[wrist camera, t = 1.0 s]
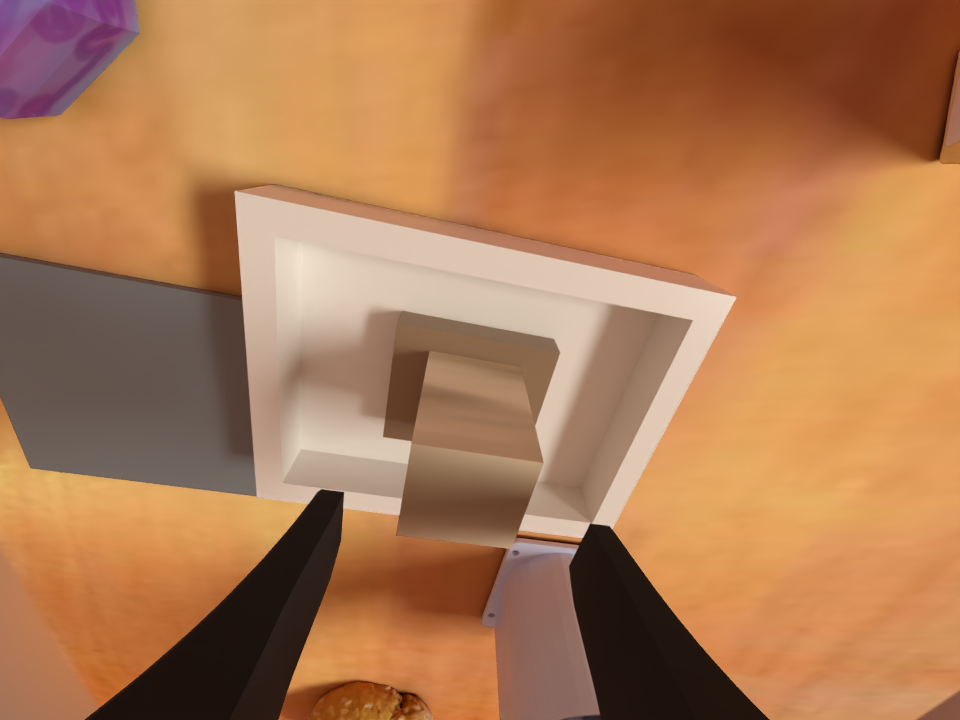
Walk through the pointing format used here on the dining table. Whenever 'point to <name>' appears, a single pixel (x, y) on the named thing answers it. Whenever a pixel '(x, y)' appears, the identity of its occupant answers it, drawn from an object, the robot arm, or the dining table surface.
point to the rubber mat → (125, 377)
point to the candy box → (953, 124)
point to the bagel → (369, 704)
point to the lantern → (58, 50)
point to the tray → (454, 349)
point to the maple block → (470, 454)
